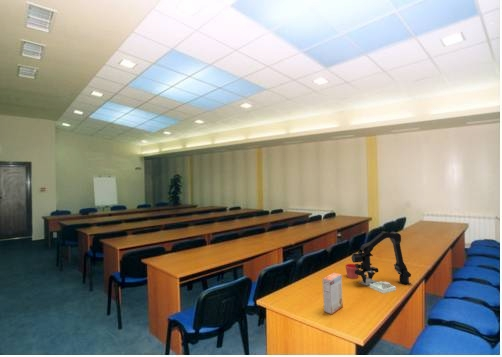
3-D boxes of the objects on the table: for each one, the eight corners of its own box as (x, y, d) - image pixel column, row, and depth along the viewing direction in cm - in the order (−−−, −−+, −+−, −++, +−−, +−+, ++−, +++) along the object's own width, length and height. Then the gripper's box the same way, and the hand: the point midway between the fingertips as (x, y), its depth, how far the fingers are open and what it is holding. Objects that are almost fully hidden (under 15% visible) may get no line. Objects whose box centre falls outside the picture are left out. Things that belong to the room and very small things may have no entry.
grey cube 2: (368, 282, 206) (367, 277, 206) (371, 284, 202) (370, 278, 202) (363, 282, 206) (363, 277, 206) (366, 284, 202) (365, 279, 202)
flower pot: (351, 280, 216) (350, 268, 216) (343, 276, 226) (342, 264, 226) (362, 278, 218) (362, 266, 219) (353, 274, 229) (353, 263, 229)
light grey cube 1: (385, 287, 198) (385, 281, 198) (390, 289, 194) (390, 283, 195) (382, 288, 196) (381, 282, 196) (386, 290, 193) (386, 284, 193)
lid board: (370, 279, 217) (370, 278, 217) (381, 283, 206) (381, 282, 206) (356, 282, 211) (356, 280, 211) (367, 287, 201) (367, 285, 201)
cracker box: (334, 304, 175) (333, 272, 175) (343, 307, 170) (342, 274, 171) (323, 311, 165) (321, 277, 166) (332, 315, 161) (330, 280, 161)
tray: (381, 285, 204) (381, 281, 204) (395, 290, 193) (395, 286, 193) (369, 288, 199) (369, 283, 199) (383, 294, 188) (383, 289, 188)
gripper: (367, 257, 215) (368, 277, 215) (349, 260, 208) (349, 281, 208) (378, 261, 205) (379, 281, 205) (359, 264, 198) (360, 285, 198)
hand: (367, 282), depth 204 cm, fingers closed on grey cube 2, 5 cm apart
